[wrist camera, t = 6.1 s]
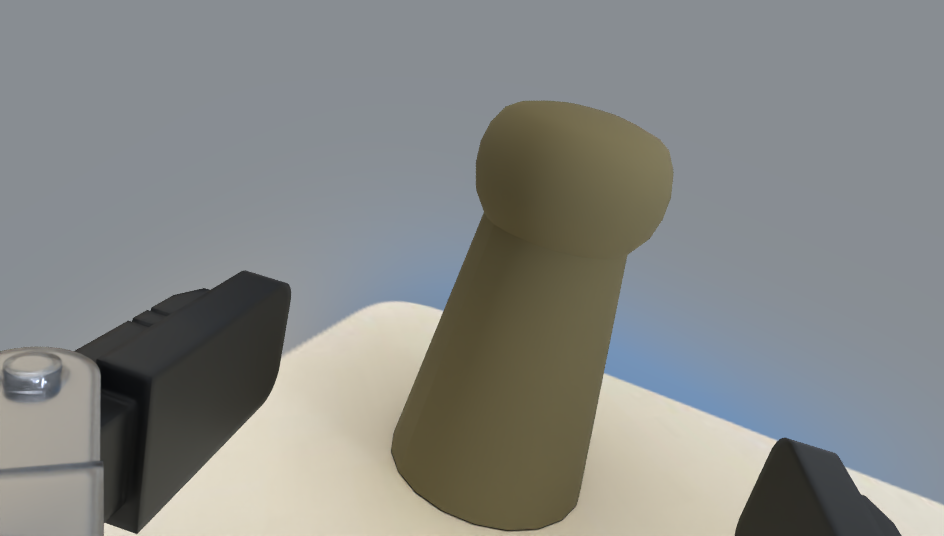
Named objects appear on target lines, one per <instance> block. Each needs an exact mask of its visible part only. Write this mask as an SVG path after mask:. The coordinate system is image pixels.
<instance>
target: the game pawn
mask: <svg viewBox="0 0 944 536" xmlns="http://www.w3.org/2000/svg"><path fill="white" fill-rule="evenodd" d="M672 182H673V167H672V162H671V158H670V153H669V150H668V149H667V148H666V146H665V145H664V144H663V143H662V142H661V140H660V139H658V138H657V137H655V136H653V135H652V134H650V133H648V132H646V131H645V130H643V129H642V128H640V127H639V126H637V125H635V124H633V123H631V122H629V121H627V120H625V119H623V118H621V117H619V116H616V115H613V114H610V113H607V112H604V111H601V110H597V109H593V108H590V107H586V106H582V105H578V104H573V103H567V102H556V101H522V102H518V103H515V104H512V105H509V106H506V107H505V108H504V109H503V110H502V111H501V112H500V113H499V114H498V115H497V116H496V117H495V118H494V119H493V120H492V121H491V122H490V124H489V126H488V128H487V130H486V132H485V134H484V136H483V138H482V140H481V143H480V147H479V151H478V155H477V160H476V189H477V193H478V196H479V199H480V202H481V204H482V207H483V210H484V214H483V216H482V219H481V221H480V223H479V226H478V228H477V231H476V233H475V236H474V238H473V241H472V243H471V245H470V248H469V250H468V253H467V255H466V258H465V260H464V262H463V265H462V267H461V270H460V272H459V275H458V277H457V280H456V282H455V285H454V287H453V289H452V292H451V295H450V297H449V299H448V302H447V304H446V307H445V309H444V311H443V314H442V316H441V319H440V321H439V324H438V326H437V328H436V331H435V333H434V336H433V338H432V341H431V343H430V346H429V348H428V350H427V353H426V355H425V358H424V360H423V363H422V365H421V368H420V370H419V372H418V375H417V377H416V380H415V382H414V385H413V387H412V390H411V392H410V394H409V397H408V399H407V402H406V404H405V407H404V409H403V412H402V414H401V416H400V419H399V421H398V424H397V426H396V429H395V431H394V435H393V442H392V449H391V451H392V454H393V457H394V460H395V463H396V466H397V469H398V471H399V472H400V474H401V475H402V476H403V477H404V478H405V480H406V481H407V482H408V483H409V485H410V486H411V487H412V488H413V489H414V491H415V492H416V493H418V494H419V495H421V496H422V497H423V498H425V499H426V500H428V501H429V502H431V503H432V504H433V505H435V506H436V507H438V508H439V509H441V510H442V511H444V512H447V513H449V514H451V515H454V516H456V517H459V518H461V519H463V520H466V521H468V522H471V523H473V524H477V525H482V526H488V527H493V528H499V529H504V530H522V529H539V528H542V527H544V526H547V525H550V524H552V523H555V522H557V521H560V520H563V518H564V517H565V516H566V515H567V514H568V513H569V512H570V511H571V510H572V509H573V508H574V507H575V506H576V505H577V501H578V497H579V493H580V489H581V484H582V479H583V474H584V469H585V464H586V459H587V454H588V449H589V444H590V439H591V434H592V429H593V424H594V419H595V414H596V409H597V404H598V399H599V394H600V389H601V384H602V379H603V374H604V368H605V364H606V359H607V354H608V349H609V344H610V339H611V333H612V328H613V324H614V319H615V314H616V309H617V304H618V299H619V294H620V289H621V284H622V278H623V274H624V269H625V264H626V259H627V255H628V254H629V253H630V252H632V251H633V250H635V249H636V248H638V247H639V246H640V245H642V244H643V243H644V242H646V241H647V240H648V239H650V237H651V236H652V234H653V233H654V231H655V230H656V228H657V227H658V225H659V224H660V223H661V221H662V220H663V217H664V214H665V212H666V209H667V207H668V204H669V201H670V199H671V191H672Z"/></svg>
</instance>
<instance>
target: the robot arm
mask: <svg viewBox="0 0 944 536" xmlns="http://www.w3.org/2000/svg"><path fill="white" fill-rule="evenodd" d="M290 300H291V289H290V286H289V284H287V283H285V282H281V281H278V280H275V279H272V278H268V277H265V276H262V275H259V274H255V273H252V272H248V271H241V272H240V273H238V274H236V275H235V276H233V277H231V278H230V279H228V280H226V281H225V282H223V283H221V284H220V285H218V286H216V287H215V288H213V289H211V290H208V289H205V288H203V289H199V290H194V291H190V292H185V293H181V294H177V295H173V296H171V297H170V298H168V299H166V300H164V301H162V302H161V303H159V304H157V305H155V306H154V307H152V308H151V311H149V310H147V311H145V312H143V313H141V314H140V315H138V316H136V317H134V318H133V320H132V322H131V321H127V322H125V323H123V324H122V325H120V326H118V327H116V328H115V329H113V330H111V331H109V332H108V333H106V334H104V335H102V336H100V337H98V338H97V339H95V340H93V341H91V342H90V343H88V344H86V345H84V346H83V347H81V348H79V349H77V350H76V351H70V350H66V349H61V348H53V347H23V348H14V349H10V350H4V351H0V536H104V523H107V524H110V525H113V526H116V527H119V528H122V529H124V530H127V531H130V532H133V533H136V534H138V533H139V531H140V530H141V529H142V528H143V527H144V526H145V525H146V524H147V523H148V522H149V521H150V520H151V519H152V518H153V517H154V516H155V515H156V514H157V513H158V512H159V511H160V510H161V509H162V508H163V507H164V506H165V505H166V504H167V503H168V502H169V501H170V500H171V498H172V497H173V496H174V495H175V494H176V493H177V492H178V491H179V490H180V489H181V488H182V487H183V486H184V485H185V484H186V483H187V482H188V481H189V480H190V479H191V478H192V477H193V476H194V475H195V474H196V473H197V472H198V471H199V470H200V469H201V468H202V467H203V466H204V464H205V463H206V462H207V461H208V460H209V459H210V458H211V457H212V456H213V455H214V454H215V453H216V452H217V451H218V450H219V449H220V448H221V447H222V446H223V445H224V444H225V443H226V442H227V441H228V440H229V439H230V438H231V437H232V436H233V435H234V434H235V433H236V431H237V430H238V429H239V428H240V427H241V426H242V425H243V424H244V423H245V422H246V421H247V420H248V419H249V418H250V417H251V416H252V415H253V414H254V413H255V412H256V411H257V410H258V409H259V408H260V407H261V406H262V405H263V403H264V402H265V401H266V399H267V398H268V396H269V394H270V392H271V391H272V388H273V386H274V384H275V381H276V378H277V375H278V371H279V366H280V360H281V354H282V348H283V343H284V337H285V331H286V325H287V319H288V312H289V307H290ZM735 536H901V534H900V533H899V531H898V529H897V528H896V526H895V524H894V523H893V522H892V521H891V520H890V519H889V518H888V517H887V516H886V515H885V514H884V513H883V512H882V511H880V510H879V509H878V508H877V507H876V506H875V505H874V504H873V503H872V502H871V501H870V500H869V499H868V498H867V497H866V496H864V495H861V494H860V492H859V491H858V489H857V487H856V486H855V484H854V482H853V480H852V479H851V477H850V475H849V474H848V472H847V470H846V468H845V467H844V465H843V463H842V462H841V460H840V458H839V457H838V455H837V454H835V453H833V452H830V451H826V450H823V449H820V448H817V447H814V446H810V445H807V444H804V443H801V442H797V441H794V440H791V439H787V438H782V439H780V440H779V441H777V442H776V444H775V445H774V446H773V448H772V450H771V452H770V454H769V456H768V458H767V460H766V462H765V464H764V467H763V469H762V471H761V473H760V475H759V477H758V479H757V482H756V484H755V486H754V488H753V490H752V492H751V495H750V497H749V499H748V501H747V503H746V505H745V507H744V510H743V512H742V514H741V516H740V518H739V521H738V524H737V528H736V532H735Z"/></svg>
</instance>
